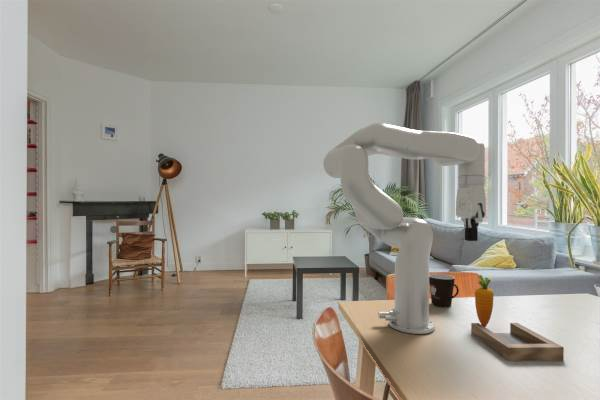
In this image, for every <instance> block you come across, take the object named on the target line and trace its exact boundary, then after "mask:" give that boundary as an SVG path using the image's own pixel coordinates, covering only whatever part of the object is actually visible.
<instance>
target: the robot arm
mask: <svg viewBox="0 0 600 400" xmlns="http://www.w3.org/2000/svg"><path fill="white" fill-rule="evenodd" d="M485 148H486V147H485V144H484V143H483V142H481V141H477V140H476V139H475V138H474V137H471V136H469V135H465V134H461V133H456V132H450V131H449V132H447V131H432V130H417V129H411V128H407V127H404V126H403V127H401V126H397V125H393V124H388V123H382V122H375V123H372V124H370V125H366V126H365V127H362V128H360V129H358V130H357V131H355V132H354V133H352V134H351V135H350V136H348V137H347V138H346V139H344V140H342V141H341V142H340V143H339V144H338V145H336V146H334V147H333V148H332V149H330V150H329V151H328V152H327V153H326V155H324V159H323V162H322V163H323V164H322V165H323V170H324V172H325V173H326V174H327V175H328V176H329V177H331V178H334V179H340V185H341V187H340V188H341V191H342V194H343V198H344V199H345V200H346V202H348V203H349V204H350V206H352V207H353V208H354V209H355V210H354V211H355V212H354V215H355V219H356V221H357V222H358V224H359V225H360V226H361V227H362V228H363V229H365V230H366V231H367V232H368V233H370V234H371V235H372V236H374V237H375V238H377V239H378V240H379V241H380V242H382V243H383V244H385V245H387V246H390V247H393V248H397V249H399V250H398V252H397V255H396V258H395V262H394V307H391V310H388V311H378V315H377V316H378V319H380V320H381V319H384V321H385V322H387V321H388V324H389V326H390V327H391V328H392V329H394V330H396V331H399V332H402V333H407V334H413V335H423V334H430V333H432V332H434V331H435V323H434V322H433V321H431V320H430V284H429V275H430V258H431V257H430V256H431V252H432V251H431V250H432V246H433V240H434V233H433V229H432V227H431V226H430V224H429V223H428V222H427V221H426V220H424V219H421V218H418V217H407V216H404V211H403V209H402V207H401V205H400V204H399V203H398V202H396V200H394V199H393V198H392V197H390V196H389V195H388V194H387V193H385V192H384V191H383V190H382V189H381V188H379V187H378V186H377V185H376V184H375V183H374V182H373V181H372V180H371V178H370V173H369V156H373V155H377V154H378V155H385V156H390V157H396V158H401V159H405V160H426V159H432V160H433V162H435V163H436V164H437V165H438V166H441V167H442V166H443V167H447V166H457V191H456V192H457V193H456V197H455V198H456V199H455V201H456V202H455V216H456V217H457V218H460V220H461V222H463V227H464V240H465V241H468V242H477V241H478V236H479V235H478V233H479V230H478V229H479V227H480V226H479V225H480V223H483V221H484V218H485V217H486V214H487V202H486V201H487V200H486V191H485V187H486V184H485V180H486V177H485V176H486V175H485V174H486V173H485V172H486V170H485V169H486V168H485V163H486V160H485V158H486V156H485V155H486V151H485Z"/></svg>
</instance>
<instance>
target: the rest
mask: <svg viewBox="0 0 600 400" xmlns="http://www.w3.org/2000/svg"><path fill="white" fill-rule="evenodd" d="M470 324H471V325H470V327H471V329H470V330H471V331H470V332H471V333H470V334H471V335H472V336H473V337H475V338H476V339H477V340H479V341H480V342H481V343H483V344H484V345H486V346H487V347H489V348H490V349H491V350H493V352H496V353H497V354H498V355H500V356H501V357H502V358H504V359H505V360H507V361H508V362H511V361H512V362H515V361H516V362H520V361H522V362H523V361H526V362H527V361H530V362H531V361H532V362H533V361H564V359H565V358H564V354H565V353H564V346H562V345H560V344H558V343H556V342H555V341H553V340H550V339H549V338H547V337H545V336H543V335H541V334H539V333H537V332H535V331H534V330H532V329H530V328H528V327H526V326H524V325H522V324H521V323H518V322H510V323H509V324H510V327H509V328H510V329H509V330H510V331H509V332H493V331H492V330H490V329H489V328H487V327H484V326H482V325H481V323H480V322H471V323H470Z"/></svg>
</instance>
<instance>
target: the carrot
mask: <svg viewBox="0 0 600 400" xmlns="http://www.w3.org/2000/svg"><path fill="white" fill-rule="evenodd" d="M478 277H479V280H478V281H477V283H478V284H479V285H480V286H481V287H477V288H476V289H475V291H474V301H475V309H476V316H477V318H478V321H479V324H481V325H482V326H484V327H485V328H487V326H488V324H489V323H490V320H491V317H492V313H493V309H494V308H493V307H494V291H493V289H491V288H488V286H489V284H490V282H491V280H492V279H491V278H488V277H487V276H485V277H483V274H478Z"/></svg>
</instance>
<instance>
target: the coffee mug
mask: <svg viewBox="0 0 600 400" xmlns="http://www.w3.org/2000/svg"><path fill="white" fill-rule="evenodd" d="M455 278H456V277H455V276H453V275H449V274H443V273H432V274H431V273H429V294H430V300H431V305H432V306H434V307H437V308H451V307H452V302H453V299H454V298H456V297H457V296H458V295H459V292H460V291H459V287H458V285H457V284H455V280H456V279H455ZM454 287H455V289H456V292H455V294H453V293H454Z"/></svg>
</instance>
